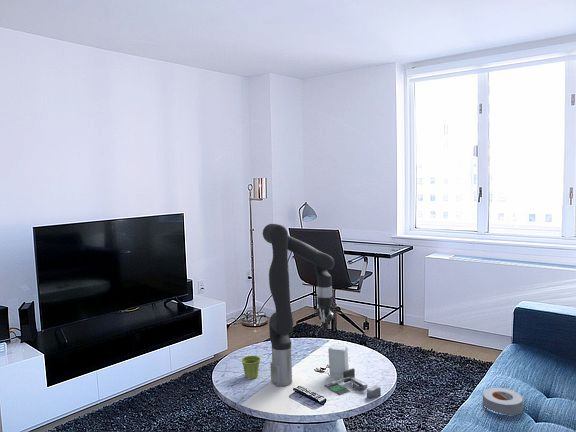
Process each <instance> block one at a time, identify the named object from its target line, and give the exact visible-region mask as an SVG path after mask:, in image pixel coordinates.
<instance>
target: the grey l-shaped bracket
mask: <svg viewBox="0 0 576 432" xmlns="http://www.w3.org/2000/svg"><path fill="white" fill-rule="evenodd" d="M355 370H356V369H355V368H349V370H346V371H343V379H337V380H335V381H334V380H333V381H332V382H331V383H332V384H335V383H338V384H339V383H340V382H343V383H344V384H346V383H348V382H350V383H352V384H353V383H354V382H355V383H356V384H358V385H360V389H363V390H367V389H368V384H367V382H365V381H363V380H361V379H358V378H356V375H355V372H356V371H355ZM360 380H361V381H360ZM362 381H363V382H362Z"/></svg>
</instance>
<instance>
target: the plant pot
mask: <svg viewBox="0 0 576 432" xmlns="http://www.w3.org/2000/svg"><path fill="white" fill-rule="evenodd" d="M240 361H241V364H242V366H243V371H244V372H243V373H244V377H245V378H246V379H248V378H249V380H252V379H253V380H254V379H257V378H258V377H257V376H259V367H260V362H261V357H260V356H257V355H246V356H244V357H242V358H241V360H240Z"/></svg>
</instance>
